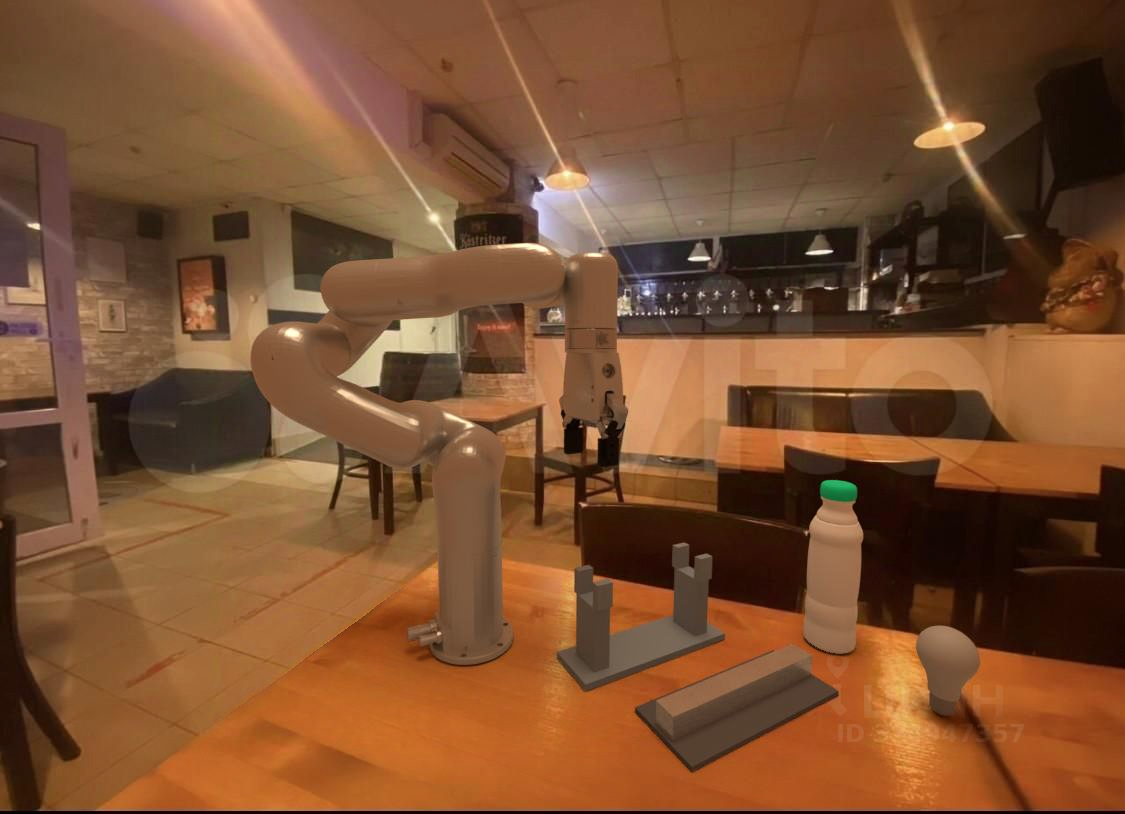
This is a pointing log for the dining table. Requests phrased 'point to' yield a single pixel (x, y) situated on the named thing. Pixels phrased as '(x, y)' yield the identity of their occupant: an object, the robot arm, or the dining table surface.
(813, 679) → the mat
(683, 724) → the rail
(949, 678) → the lightbulb
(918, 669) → the dining table surface
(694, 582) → the rack
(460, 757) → the dining table surface
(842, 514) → the water bottle
